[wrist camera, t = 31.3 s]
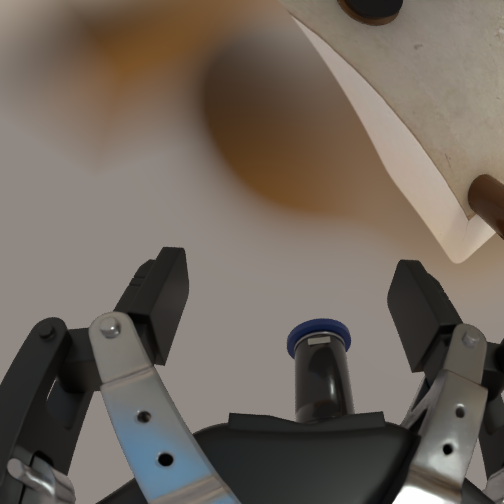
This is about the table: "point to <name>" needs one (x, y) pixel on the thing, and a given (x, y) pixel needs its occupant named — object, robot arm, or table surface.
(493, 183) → the jar
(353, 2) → the lid
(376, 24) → the coaster
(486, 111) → the table surface
